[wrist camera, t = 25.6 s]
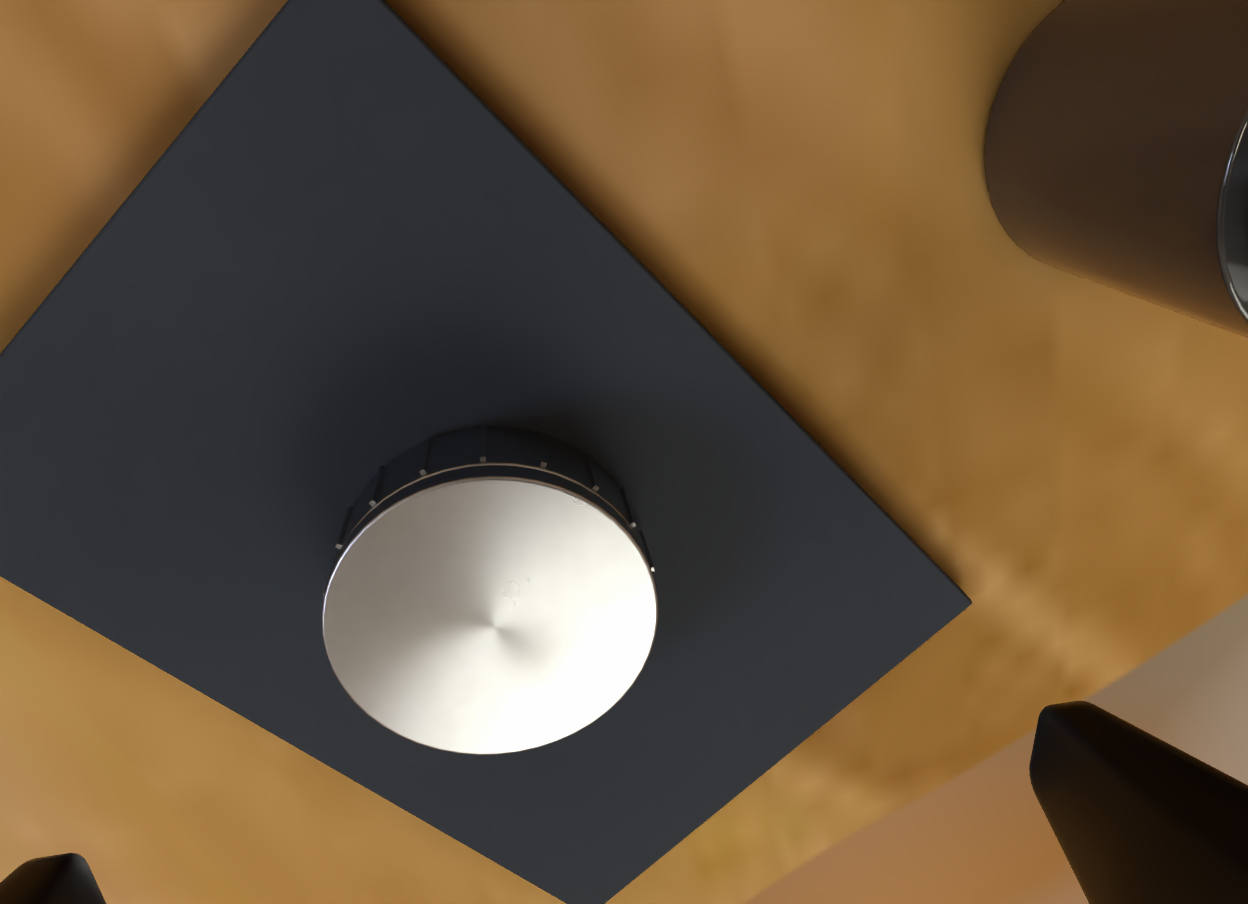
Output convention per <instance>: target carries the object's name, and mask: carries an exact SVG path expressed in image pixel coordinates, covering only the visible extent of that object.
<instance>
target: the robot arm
mask: <svg viewBox="0 0 1248 904" xmlns="http://www.w3.org/2000/svg"><path fill="white" fill-rule="evenodd" d="M1029 770H1030V778H1031V784H1032V787H1033V790H1034V792H1035V795H1036V797H1037V799H1038V801H1039V803H1040V805H1041V807H1042V809H1043V811H1044V813H1045V815H1046V817H1047V819H1048V821H1049V823H1050V825H1051V827H1052V829H1053V831H1054V833H1055V835H1056V837H1057V839H1058V841H1059V843H1060V845H1061V847H1062V849H1063V851H1064V853H1065V855H1066V857H1067V859H1068V861H1069V863H1070V865H1071V867H1072V869H1073V871H1074V873H1075V875H1076V877H1077V880H1078V882H1079V883H1080V886H1081V887H1082V889H1083V892H1084V893H1085V896H1086V898H1087V900H1088V902H1089V904H1248V785H1246V784H1244V783H1242V782H1240V781H1238V780H1236V779H1235V778H1233V777H1231V776H1229V775H1227V774H1225V773H1223V772H1221V771H1219V770H1218V769H1216V768H1214V767H1212V766H1210V765H1208V764H1206V763H1204V762H1202V761H1200V760H1198V759H1197V758H1195V757H1193V756H1191V755H1189V754H1187V753H1185V752H1183V751H1181V750H1179V749H1178V748H1176V747H1174V746H1172V745H1170V744H1168V743H1166V742H1164V741H1162V740H1160V739H1159V738H1156V737H1155V736H1153V735H1151V734H1149V733H1147V732H1145V731H1143V730H1141V729H1139V728H1138V727H1136V726H1134V725H1132V724H1130V723H1128V722H1126V721H1124V720H1122V719H1120V718H1118V717H1117V716H1115V715H1113V714H1111V713H1109V712H1107V711H1105V710H1103V709H1101V708H1099V707H1098V706H1096V705H1094V704H1091V703H1089V702H1086V701H1074V702H1067V703H1061V704H1054V705H1049V706H1047V707H1045V708H1044V709H1043V710H1042V711H1041V713H1040V715H1039V718H1038V724H1037V729H1036V734H1035V740H1034V745H1033V750H1032V756H1031V760H1030V768H1029ZM0 904H106V902H105V900H104V898H103V896H102V893H101V891H100V889H99V887H98V885H97V883H96V880H95V878H94V876H93V874H92V872H91V870H90V867H89V865H88V863H87V862H86V860H85V858H83V857H82V856H80V855H79V854H75V853H68V854H61V855H54V856H48V857H41V858H35V859H32V860H29V861H27V862H25V863H23V864H22V865H21V866H19V867H18V868H17V869H15V870H14V871H13V872H12V873H11V874H10V875H9V876H7V877H6V878H5V879H4V880H3V881H2V882H1V883H0Z"/></svg>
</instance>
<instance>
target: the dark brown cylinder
mask: <svg viewBox="0 0 1248 904" xmlns="http://www.w3.org/2000/svg"><path fill="white" fill-rule="evenodd" d="M985 172H986V180H987V187H988V191H989V195H990V198H991V202H992V205H993V207H994V210H995V212H996V214H997V217H998V219H999V221H1000V223H1001V224H1002V226H1003V228H1004V229H1005V231H1006V232H1007V234H1008V235H1009V236H1010V237H1011V239H1012V240H1013V241H1014V242H1015V243H1016V244H1017V246H1019V247H1020V248H1021V249H1022V250H1023V251H1025V252H1026V253H1027V254H1028V255H1029V256H1031V257H1033V258H1034V259H1036V260H1038V261H1040V262H1041V263H1043V264H1046V265H1048V266H1051V267H1054V268H1056V269H1059V270H1062V271H1065V272H1067V273H1070V274H1073V275H1076V276H1078V277H1081V278H1084V279H1087V280H1089V281H1092V282H1095V283H1098V284H1100V285H1103V286H1106V287H1109V288H1111V289H1114V290H1117V291H1120V292H1122V293H1125V294H1128V295H1131V296H1133V297H1136V298H1139V299H1141V300H1144V301H1147V302H1150V303H1152V304H1155V305H1158V306H1161V307H1163V308H1166V309H1169V310H1172V311H1174V312H1177V313H1180V314H1183V315H1185V316H1188V317H1191V318H1194V319H1196V320H1199V321H1202V322H1205V323H1207V324H1210V325H1213V326H1216V327H1218V328H1221V329H1224V330H1227V331H1229V332H1232V333H1235V334H1238V335H1240V336H1243V337H1246V338H1248V0H1065V1H1064V2H1063V3H1062V4H1060V5H1059V6H1058V7H1057V8H1056V9H1055V10H1054V11H1052V12H1051V13H1050V14H1049V15H1048V16H1047V17H1046V18H1045V19H1044V20H1043V21H1042V23H1041V24H1040V25H1039V26H1038V27H1037V28H1036V29H1035V30H1034V31H1033V32H1032V34H1031V35H1030V36H1029V38H1028V39H1027V40H1026V42H1025V43H1024V44H1023V46H1022V47H1021V48H1020V50H1019V51H1018V53H1017V55H1016V56H1015V58H1014V60H1013V61H1012V63H1011V65H1010V66H1009V68H1008V70H1007V72H1006V74H1005V77H1004V79H1003V81H1002V83H1001V85H1000V87H999V90H998V93H997V95H996V98H995V101H994V104H993V107H992V111H991V115H990V119H989V124H988V128H987V135H986V144H985Z"/></svg>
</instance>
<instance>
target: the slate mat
mask: <svg viewBox="0 0 1248 904" xmlns="http://www.w3.org/2000/svg"><path fill="white" fill-rule="evenodd" d="M481 425H486V427H501V428H515V429H521V430H527V431H533V432H536V433H537V431H542V433H543V435H546V436H550V437H553V438H555V439H557V440H560V441H562V442H564V443H567V444H569V445H571V446H572V447H574V448H576V449H577V450H579V451H581V452H582V453H584V454H586V453H589V454H590V455H591V457H592V460H594V461H595V462H596V463H597V464H599V465H600V466H601V467H602V468H603V469H604V470H605V471H606V472H607V473H608V474H609V475H610V476H611V477H612V478H613V480H614V481H615V482H616V484H617V485H618V486H619V488H620V489H621V488H624V489H625V491H626V494H627V497H628V500H629V504H630V507H631V509H632V511H633V514H634V517H635V520H636V523H637V526H638V530H642V532H643V535H644V538H645V541H646V544H647V547H648V550H649V553H650V556H651V559H652V562H653V565H654V569H655V571H653V572H652V574H653V577H654V580H655V585H656V591H657V596H658V622H657V629H656V635H655V638H654V642H653V645H652V649H651V652H650V654H649V656H648V658H647V661H646V663H645V665H644V667H643V669H642V671H641V672H640V674H639V676H638V677H637V679H636V680H635V682H634V683H633V685H632V686H631V687H630V689H629V690H628V691H627V692H626V693H625V695H624V696H623V697H622V698H621V699H620V700H619V701H618V702H617V703H616V704H615V705H614V706H613V707H612V708H611V709H610V710H609V711H607V712H606V713H605V714H604V715H602V716H601V717H599V718H598V719H597V720H595V721H594V722H593V723H591V724H590V725H588V726H586V727H584V728H583V729H581V730H579V731H578V732H576V733H574V734H572V735H570V736H567V737H565V738H563V739H561V740H558V741H556V742H553V743H550V744H547V745H544V746H541V747H538V748H533V749H529V750H525V751H520V752H513V753H505V754H490V755H475V754H462V753H454V752H449V751H443V750H438V749H434V748H431V747H428V746H424V745H421V744H418V743H415V742H413V741H411V740H408V739H406V738H404V737H401V736H399V735H397V734H396V733H394V732H392V731H390V730H389V729H387V728H385V727H383V726H382V725H381V724H379V723H378V722H377V721H375V720H374V719H373V718H371V717H370V716H369V715H367V714H366V713H365V712H364V711H363V710H362V709H361V708H360V707H359V706H358V705H357V704H356V703H355V702H354V701H353V700H352V698H351V697H350V696H349V695H348V693H347V692H346V691H345V690H344V688H343V687H342V685H341V684H340V682H339V680H338V678H337V676H336V675H335V673H334V671H333V669H332V667H331V664H330V661H329V659H328V656H327V653H326V650H325V645H324V640H323V635H322V618H321V614H322V606H323V593H324V589H325V586H326V583H327V580H328V577H329V574H330V570H331V567H332V564H333V561H334V558H335V554H336V552H337V551H338V549H337V548H335V547H336V544H337V540H338V537H339V534H340V531H341V528H342V525H343V522H344V519H345V515H346V512H347V509H348V507H349V506H352V507H353V506H354V504H355V502H356V500H357V499H358V497H359V496H360V494H361V493H362V491H363V490H364V488H365V487H366V485H367V484H368V483H369V482H370V481H371V480H372V479H373V478H374V476H375V475H376V474H377V471H378V468H379V467H380V466H381V465H382V466H384V467H385V466H386V465H387V464H388V463H390V462H391V461H392V460H393V459H395V458H396V457H398V456H399V455H401V454H402V453H404V452H406V451H407V450H409V449H410V448H412V447H414V446H416V445H418V444H421V443H423V442H425V438H428V437H430V438H431V439H432V438H435V437H438V436H441V435H444V434H447V433H451V432H456V431H461V430H466V429H472V428H481ZM0 576H1V577H3V578H4V579H6V580H8V581H9V582H11V583H13V584H15V585H16V586H18V587H20V588H22V589H23V590H25V591H27V592H29V593H30V594H32V595H34V596H35V597H37V598H39V599H41V600H42V601H44V602H46V603H48V604H49V605H51V606H53V607H54V608H56V609H58V610H60V611H61V612H63V613H65V614H67V615H68V616H70V617H72V618H74V619H75V620H77V621H79V622H80V623H82V624H84V625H86V626H87V627H89V628H91V629H93V630H94V631H96V632H98V633H99V634H101V635H103V636H105V637H106V638H108V639H110V640H112V641H113V642H115V643H117V644H118V645H120V646H122V647H124V648H125V649H127V650H129V651H131V652H132V653H134V654H136V655H138V656H139V657H141V658H143V659H144V660H146V661H148V662H150V663H151V664H153V665H155V666H157V667H158V668H160V669H162V670H163V671H165V672H167V673H169V674H170V675H172V676H174V677H176V678H177V679H179V680H181V681H183V682H184V683H186V684H188V685H189V686H191V687H193V688H195V689H196V690H198V691H200V692H202V693H203V694H205V695H207V696H208V697H210V698H212V699H214V700H215V701H217V702H219V703H221V704H222V705H224V706H226V707H228V708H229V709H231V710H233V711H234V712H236V713H238V714H240V715H241V716H243V717H245V718H247V719H248V720H250V721H252V722H253V723H255V724H257V725H259V726H260V727H262V728H264V729H266V730H267V731H269V732H271V733H273V734H274V735H276V736H278V737H279V738H281V739H283V740H285V741H286V742H288V743H290V744H292V745H293V746H295V747H297V748H298V749H300V750H302V751H304V752H305V753H307V754H309V755H311V756H312V757H314V758H316V759H318V760H319V761H321V762H323V763H324V764H326V765H328V766H330V767H331V768H333V769H335V770H337V771H338V772H340V773H342V774H343V775H345V776H347V777H349V778H350V779H352V780H354V781H356V782H357V783H359V784H361V785H363V786H364V787H366V788H368V789H369V790H371V791H373V792H375V793H376V794H378V795H380V796H382V797H383V798H385V799H387V800H388V801H390V802H392V803H394V804H395V805H397V806H399V807H401V808H402V809H404V810H406V811H408V812H409V813H411V814H413V815H414V816H416V817H418V818H420V819H421V820H423V821H425V822H427V823H428V824H430V825H432V826H433V827H435V828H437V829H439V830H440V831H442V832H444V833H446V834H447V835H449V836H451V837H453V838H454V839H456V840H458V841H459V842H461V843H463V844H465V845H466V846H468V847H470V848H472V849H473V850H475V851H477V852H478V853H480V854H482V855H484V856H485V857H487V858H489V859H491V860H492V861H494V862H496V863H497V864H499V865H501V866H503V867H504V868H506V869H508V870H510V871H511V872H513V873H515V874H517V875H518V876H520V877H522V878H523V879H525V880H527V881H529V882H530V883H532V884H534V885H536V886H537V887H539V888H541V889H542V890H544V891H546V892H548V893H549V894H551V895H553V896H555V897H556V898H558V899H560V900H562V901H563V902H565V903H567V904H604V903H606V902H607V901H608V900H609V899H611V898H612V897H613V896H614V895H616V894H617V893H618V892H619V891H620V890H622V889H623V888H624V887H625V886H627V885H628V884H629V883H630V882H631V881H633V880H634V879H635V878H636V877H638V876H639V875H640V874H641V873H642V872H644V871H645V870H646V869H647V868H649V867H650V866H651V865H652V864H654V863H655V862H656V861H657V860H658V859H660V858H661V857H662V856H663V855H665V854H666V853H667V852H668V851H669V850H671V849H672V848H673V847H674V846H676V845H677V844H678V843H679V842H680V841H682V840H683V839H684V838H685V837H687V836H688V835H689V834H690V833H692V832H693V831H694V830H695V829H696V828H698V827H699V826H700V825H701V824H703V823H704V822H705V821H706V820H707V819H709V818H710V817H711V816H712V815H714V814H715V813H716V812H717V811H718V810H720V809H721V808H722V807H723V806H725V805H726V804H727V803H728V802H729V801H731V800H732V799H733V798H734V797H736V796H737V795H738V794H739V793H741V792H742V791H743V790H744V789H745V788H747V787H748V786H749V785H750V784H752V783H753V782H754V781H755V780H756V779H758V778H759V777H760V776H761V775H763V774H764V773H765V772H766V771H767V770H769V769H770V768H771V767H772V766H774V765H775V764H776V763H777V762H779V761H780V760H781V759H782V758H783V757H785V756H786V755H787V754H788V753H790V752H791V751H792V750H793V749H794V748H796V747H797V746H798V745H799V744H801V743H802V742H803V741H804V740H805V739H807V738H808V737H809V736H810V735H812V734H813V733H814V732H815V731H817V730H818V729H819V728H820V727H821V726H823V725H824V724H825V723H826V722H828V721H829V720H830V719H831V718H832V717H834V716H835V715H836V714H837V713H839V712H840V711H841V710H842V709H843V708H845V707H846V706H847V705H848V704H850V703H851V702H852V701H853V700H855V699H856V698H857V697H858V696H859V695H861V694H862V693H863V692H864V691H866V690H867V689H868V688H869V687H870V686H872V685H873V684H874V683H875V682H877V681H878V680H879V679H880V678H881V677H883V676H884V675H885V674H886V673H888V672H889V671H890V670H891V669H893V668H894V667H895V666H896V665H897V664H899V663H900V662H901V661H902V660H904V659H905V658H906V657H907V656H908V655H910V654H911V653H912V652H913V651H915V650H916V649H917V648H918V647H919V646H921V645H922V644H923V643H924V642H926V641H927V640H928V639H929V638H931V637H932V636H933V635H934V634H935V633H937V632H938V631H939V630H940V629H942V628H943V627H944V626H945V625H946V624H948V623H949V622H950V621H951V620H953V619H954V618H955V617H956V616H957V615H959V614H960V613H961V612H962V611H964V610H965V609H966V608H967V607H969V606H970V605H971V604H972V601H971V599H970V598H969V597H968V596H967V595H966V594H965V593H964V592H963V591H962V590H961V589H960V587H959V586H958V585H957V584H956V583H955V582H954V581H953V580H952V579H951V578H950V577H949V576H948V575H947V574H946V573H945V572H944V571H943V570H942V569H941V568H940V567H939V566H938V565H937V564H936V563H935V562H934V561H933V560H932V559H931V558H930V557H929V556H928V555H927V554H926V553H925V552H924V551H923V550H922V549H921V548H920V547H919V546H918V545H917V544H916V543H915V542H914V541H913V540H912V538H911V537H910V536H909V535H908V534H907V533H906V532H905V531H904V530H903V529H902V528H901V527H900V526H899V525H898V524H897V523H896V522H895V521H894V520H893V519H892V518H891V517H890V516H889V515H888V514H887V513H886V512H885V511H884V510H883V509H882V508H881V507H880V506H879V505H878V504H877V503H876V502H875V501H874V500H873V499H872V498H871V497H870V496H869V495H868V494H867V493H866V492H865V491H864V489H863V488H862V487H861V486H860V485H859V484H858V483H857V482H856V481H855V480H854V479H853V478H852V477H851V476H850V475H849V474H848V473H847V472H846V471H845V470H844V469H843V468H842V467H841V466H840V465H839V464H838V463H837V462H836V461H835V460H834V459H833V458H832V457H831V456H830V455H829V454H828V453H827V452H826V451H825V450H824V449H823V448H822V447H821V446H820V445H819V444H818V443H817V442H816V441H815V439H814V438H813V437H812V436H811V435H810V434H809V433H808V432H807V431H806V430H805V429H804V428H803V427H802V426H801V425H800V424H799V423H798V422H797V421H796V420H795V419H794V418H793V417H792V416H791V415H790V414H789V413H788V412H787V411H786V410H785V409H784V408H783V407H782V406H781V405H780V404H779V403H778V402H777V401H776V400H775V399H774V398H773V397H772V396H771V395H770V394H769V393H768V392H767V390H766V389H765V388H764V387H763V386H762V385H761V384H760V383H759V382H758V381H757V380H756V379H755V378H754V377H753V376H752V375H751V374H750V373H749V372H748V371H747V370H746V369H745V368H744V367H743V366H742V365H741V364H740V363H739V362H738V361H737V360H736V359H735V358H734V357H733V356H732V355H731V354H730V353H729V352H728V351H727V350H726V349H725V348H724V347H723V346H722V345H721V344H720V343H719V341H718V340H717V339H716V338H715V337H714V336H713V335H712V334H711V333H710V332H709V331H708V330H707V329H706V328H705V327H704V326H703V325H702V324H701V323H700V322H699V321H698V320H697V319H696V318H695V317H694V316H693V315H692V314H691V313H690V312H689V311H688V310H687V309H686V308H685V307H684V306H683V305H682V304H681V303H680V302H679V301H678V300H677V299H676V298H675V297H674V296H673V295H672V294H671V293H670V291H669V290H668V289H667V288H666V287H665V286H664V285H663V284H662V283H661V282H660V281H659V280H658V279H657V278H656V277H655V276H654V275H653V274H652V273H651V272H650V271H649V270H648V269H647V268H646V267H645V266H644V265H643V264H642V263H641V262H640V261H639V260H638V259H637V258H636V257H635V256H634V255H633V254H632V253H631V252H630V251H629V250H628V249H627V248H626V247H625V246H624V245H623V244H622V242H621V241H620V240H619V239H618V238H617V237H616V236H615V235H614V234H613V233H612V232H611V231H610V230H609V229H608V228H607V227H606V226H605V225H604V224H603V223H602V222H601V221H600V220H599V219H598V218H597V217H596V216H595V215H594V214H593V213H592V212H591V211H590V210H589V209H588V208H587V207H586V206H585V205H584V204H583V203H582V202H581V201H580V200H579V199H578V198H577V197H576V196H575V195H574V193H573V192H572V191H571V190H570V189H569V188H568V187H567V186H566V185H565V184H564V183H563V182H562V181H561V180H560V179H559V178H558V177H557V176H556V175H555V174H554V173H553V172H552V171H551V170H550V169H549V168H548V167H547V166H546V165H545V164H544V163H543V162H542V161H541V160H540V159H539V158H538V157H537V156H536V155H535V154H534V153H533V152H532V151H531V150H530V149H529V148H528V147H527V146H526V144H525V143H524V142H523V141H522V140H521V139H520V138H519V137H518V136H517V135H516V134H515V133H514V132H513V131H512V130H511V129H510V128H509V127H508V126H507V125H506V124H505V123H504V122H503V121H502V120H501V119H500V118H499V117H498V116H497V115H496V114H495V113H494V112H493V111H492V110H491V109H490V108H489V107H488V106H487V105H486V104H485V103H484V102H483V101H482V100H481V99H480V98H479V97H478V96H477V94H476V93H475V92H474V91H473V90H472V89H471V88H470V87H469V86H468V85H467V84H466V83H465V82H464V81H463V80H462V79H461V78H460V77H459V76H458V75H457V74H456V73H455V72H454V71H453V70H452V69H451V68H450V67H449V66H448V65H447V64H446V63H445V62H444V61H443V60H442V59H441V58H440V57H439V56H438V55H437V54H436V53H435V52H434V51H433V50H432V49H431V48H430V47H429V45H428V44H427V43H426V42H425V41H424V40H423V39H422V38H421V37H420V36H419V35H418V34H417V33H416V32H415V31H414V30H413V29H412V28H411V27H410V26H409V25H408V24H407V23H406V22H405V21H404V20H403V19H402V18H401V17H400V16H399V15H398V14H397V13H396V12H395V11H394V10H393V9H392V8H391V7H390V6H389V5H388V4H387V3H386V2H385V1H384V0H288V1H287V2H286V4H285V5H284V6H283V7H282V8H281V10H280V11H279V12H278V13H277V15H276V16H275V17H274V18H273V20H272V21H271V22H270V23H269V24H268V26H267V27H266V28H265V29H264V31H263V32H262V33H261V34H260V36H259V37H258V38H257V39H256V40H255V42H254V43H253V44H252V45H251V47H250V48H249V49H248V50H247V52H246V53H245V54H244V55H243V56H242V58H241V59H240V60H239V61H238V63H237V64H236V65H235V66H234V67H233V69H232V70H231V71H230V72H229V74H228V75H227V76H226V77H225V79H224V80H223V81H222V82H221V83H220V85H219V86H218V87H217V88H216V90H215V91H214V92H213V93H212V95H211V96H210V97H209V98H208V99H207V101H206V102H205V103H204V104H203V106H202V107H201V108H200V109H199V110H198V112H197V113H196V114H195V115H194V117H193V118H192V119H191V120H190V122H189V123H188V124H187V125H186V126H185V128H184V129H183V130H182V131H181V133H180V134H179V135H178V136H177V138H176V139H175V140H174V141H173V142H172V144H171V145H170V146H169V147H168V149H167V150H166V151H165V152H164V154H163V155H162V156H161V157H160V158H159V160H158V161H157V162H156V163H155V165H154V166H153V167H152V168H151V169H150V171H149V172H148V173H147V174H146V176H145V177H144V178H143V179H142V181H141V182H140V183H139V184H138V185H137V187H136V188H135V189H134V190H133V192H132V193H131V194H130V195H129V197H128V198H127V199H126V200H125V201H124V203H123V204H122V205H121V206H120V208H119V209H118V210H117V211H116V213H115V214H114V215H113V216H112V217H111V219H110V220H109V221H108V222H107V224H106V225H105V226H104V227H103V228H102V230H101V231H100V232H99V233H98V235H97V236H96V237H95V238H94V240H93V241H92V242H91V243H90V244H89V246H88V247H87V248H86V249H85V251H84V252H83V253H82V254H81V256H80V257H79V258H78V259H77V260H76V262H75V263H74V264H73V265H72V267H71V268H70V269H69V270H68V272H67V273H66V274H65V275H64V276H63V278H62V279H61V280H60V281H59V283H58V284H57V285H56V286H55V287H54V289H53V290H52V291H51V292H50V294H49V295H48V296H47V297H46V299H45V300H44V301H43V302H42V303H41V305H40V306H39V307H38V308H37V310H36V311H35V312H34V313H33V315H32V316H31V317H30V318H29V319H28V321H27V322H26V323H25V324H24V326H23V327H22V328H21V329H20V330H19V332H18V333H17V334H16V335H15V337H14V338H13V339H12V340H11V342H10V343H9V344H8V345H7V346H6V348H5V349H4V350H3V351H2V353H1V354H0Z"/></svg>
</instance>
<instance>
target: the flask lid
mask: <svg viewBox="0 0 1248 904" xmlns="http://www.w3.org/2000/svg"><path fill="white" fill-rule="evenodd" d="M335 548H337V549H338V551H337V552H336V554H335V558H334V561H333V564H332V567H331V570H330V574H329V577H328V580H327V583H326V586H325V589H324V593H323V606H322V614H321V618H322V635H323V640H324V645H325V650H326V653H327V656H328V659H329V661H330V664H331V667H332V669H333V671H334V673H335V675H336V676H337V678H338V680H339V682H340V684H341V685H342V687H343V688H344V690H345V691H346V692H347V693H348V695H349V696H350V697H351V698H352V700H353V701H354V702H355V703H356V704H357V705H358V706H359V707H360V708H361V709H362V710H363V711H364V712H365V713H366V714H367V715H369V716H370V717H371V718H373V719H374V720H375V721H377V722H378V723H379V724H381V725H382V726H383V727H385V728H387V729H389V730H390V731H392V732H394V733H396V734H397V735H399V736H401V737H404V738H406V739H408V740H411V741H413V742H415V743H418V744H421V745H424V746H428V747H431V748H434V749H438V750H443V751H449V752H454V753H462V754H475V755H490V754H505V753H513V752H520V751H525V750H529V749H533V748H538V747H541V746H544V745H547V744H550V743H553V742H556V741H558V740H561V739H563V738H565V737H567V736H570V735H572V734H574V733H576V732H578V731H579V730H581V729H583V728H584V727H586V726H588V725H590V724H591V723H593V722H594V721H595V720H597V719H598V718H599V717H601V716H602V715H604V714H605V713H606V712H607V711H609V710H610V709H611V708H612V707H613V706H614V705H615V704H616V703H617V702H618V701H619V700H620V699H621V698H622V697H623V696H624V695H625V693H626V692H627V691H628V690H629V689H630V687H631V686H632V685H633V683H634V682H635V680H636V679H637V677H638V676H639V674H640V672H641V671H642V669H643V667H644V665H645V663H646V661H647V658H648V656H649V654H650V652H651V649H652V645H653V642H654V638H655V635H656V629H657V622H658V596H657V591H656V585H655V580H654V577H653V574H652V572H653V571H655V569H654V565H653V562H652V559H651V556H650V553H649V550H648V547H647V544H646V541H645V538H644V535H643V532H642V530H638V526H637V523H636V520H635V517H634V514H633V511H632V509H631V507H630V504H629V500H628V497H627V494H626V491H625V489H624V488H621V489H620V488H619V486H618V485H617V484H616V482H615V481H614V480H613V478H612V477H611V476H610V475H609V474H608V473H607V472H606V471H605V470H604V469H603V468H602V467H601V466H600V465H599V464H597V463H596V462H595V461H594V460H592V457H591V455H590V454H589V453H586V454H584V453H582V452H581V451H579V450H577V449H576V448H574V447H572V446H571V445H569V444H567V443H564V442H562V441H560V440H557V439H555V438H553V437H550V436H546V435H543V433H542V431H537V433H536V432H533V431H527V430H521V429H515V428H501V427H486V425H481V428H472V429H466V430H461V431H456V432H451V433H447V434H444V435H441V436H438V437H435V438H432V439H431V438H430V437H428V438H425V442H423V443H421V444H418V445H416V446H414V447H412V448H410V449H409V450H407V451H406V452H404V453H402V454H401V455H399V456H398V457H396V458H395V459H393V460H392V461H391V462H390V463H388V464H387V465H386V466H385V467H384V466H382V465H381V466H380V467H379V468H378V471H377V474H376V475H375V476H374V478H373V479H372V480H371V481H370V482H369V483H368V484H367V485H366V487H365V488H364V490H363V491H362V493H361V494H360V496H359V497H358V499H357V500H356V502H355V504H354V506H353V507H352V506H349V507H348V509H347V512H346V515H345V519H344V522H343V525H342V528H341V531H340V534H339V537H338V540H337V544H336V547H335Z"/></svg>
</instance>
